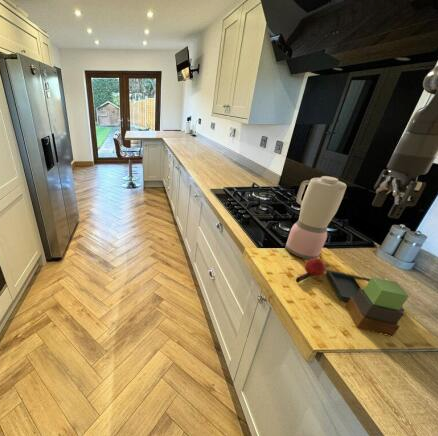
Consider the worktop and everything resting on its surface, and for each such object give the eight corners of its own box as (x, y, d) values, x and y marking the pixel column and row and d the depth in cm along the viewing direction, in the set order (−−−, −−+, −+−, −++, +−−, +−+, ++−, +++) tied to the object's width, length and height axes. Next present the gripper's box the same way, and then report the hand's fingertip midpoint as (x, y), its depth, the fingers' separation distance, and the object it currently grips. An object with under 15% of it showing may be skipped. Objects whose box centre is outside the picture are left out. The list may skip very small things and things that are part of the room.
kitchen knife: (297, 283, 80) (299, 278, 79) (294, 281, 81) (296, 277, 80) (327, 269, 88) (329, 265, 87) (324, 267, 89) (326, 263, 88)
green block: (387, 295, 65) (396, 281, 63) (399, 310, 61) (409, 295, 58) (363, 290, 67) (371, 276, 65) (373, 304, 62) (382, 290, 60)
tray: (377, 285, 81) (380, 280, 80) (400, 315, 70) (404, 310, 69) (325, 274, 85) (327, 270, 85) (339, 301, 74) (342, 295, 73)
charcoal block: (382, 305, 67) (389, 294, 66) (396, 324, 62) (404, 313, 60) (353, 298, 69) (359, 288, 68) (364, 316, 63) (371, 305, 62)
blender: (325, 258, 95) (360, 182, 81) (304, 264, 91) (336, 184, 77) (291, 239, 108) (316, 170, 94) (271, 243, 104) (294, 172, 90)
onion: (322, 283, 81) (331, 264, 78) (303, 278, 83) (311, 260, 79) (318, 273, 86) (326, 255, 83) (300, 269, 88) (307, 251, 84)
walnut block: (376, 314, 70) (383, 304, 68) (392, 336, 63) (399, 326, 61) (345, 306, 72) (350, 297, 70) (356, 327, 65) (363, 317, 63)
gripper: (457, 159, 52) (417, 225, 59) (415, 149, 64) (386, 204, 71) (414, 156, 54) (380, 219, 61) (381, 147, 66) (356, 200, 73)
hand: (383, 211), depth 66 cm, fingers open, 8 cm apart
